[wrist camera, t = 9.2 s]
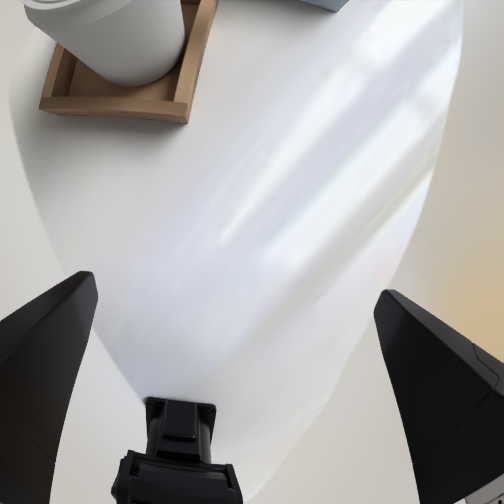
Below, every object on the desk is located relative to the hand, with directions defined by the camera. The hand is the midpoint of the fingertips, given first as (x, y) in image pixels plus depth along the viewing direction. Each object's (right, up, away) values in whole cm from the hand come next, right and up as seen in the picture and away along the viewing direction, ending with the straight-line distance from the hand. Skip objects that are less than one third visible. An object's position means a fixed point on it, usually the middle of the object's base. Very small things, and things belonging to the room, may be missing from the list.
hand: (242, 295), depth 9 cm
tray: (-8, +15, +8) cm, 19 cm away
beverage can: (-7, +15, +8) cm, 18 cm away
